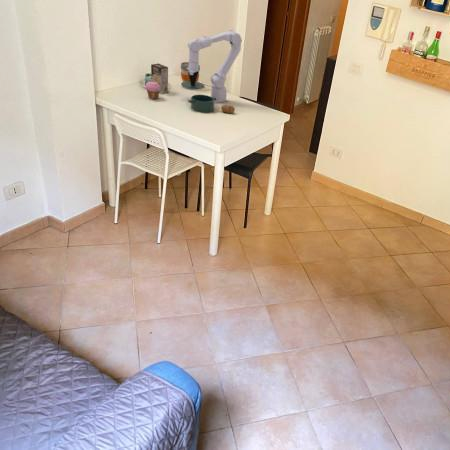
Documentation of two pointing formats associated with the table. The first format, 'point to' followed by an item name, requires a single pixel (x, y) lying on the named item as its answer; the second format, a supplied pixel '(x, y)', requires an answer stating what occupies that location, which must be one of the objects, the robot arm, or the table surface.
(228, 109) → the brown cylinder
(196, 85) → the pot lid
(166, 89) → the coffee box
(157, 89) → the cupcake
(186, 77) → the reusable coffee cup
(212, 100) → the pot
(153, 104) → the table surface
